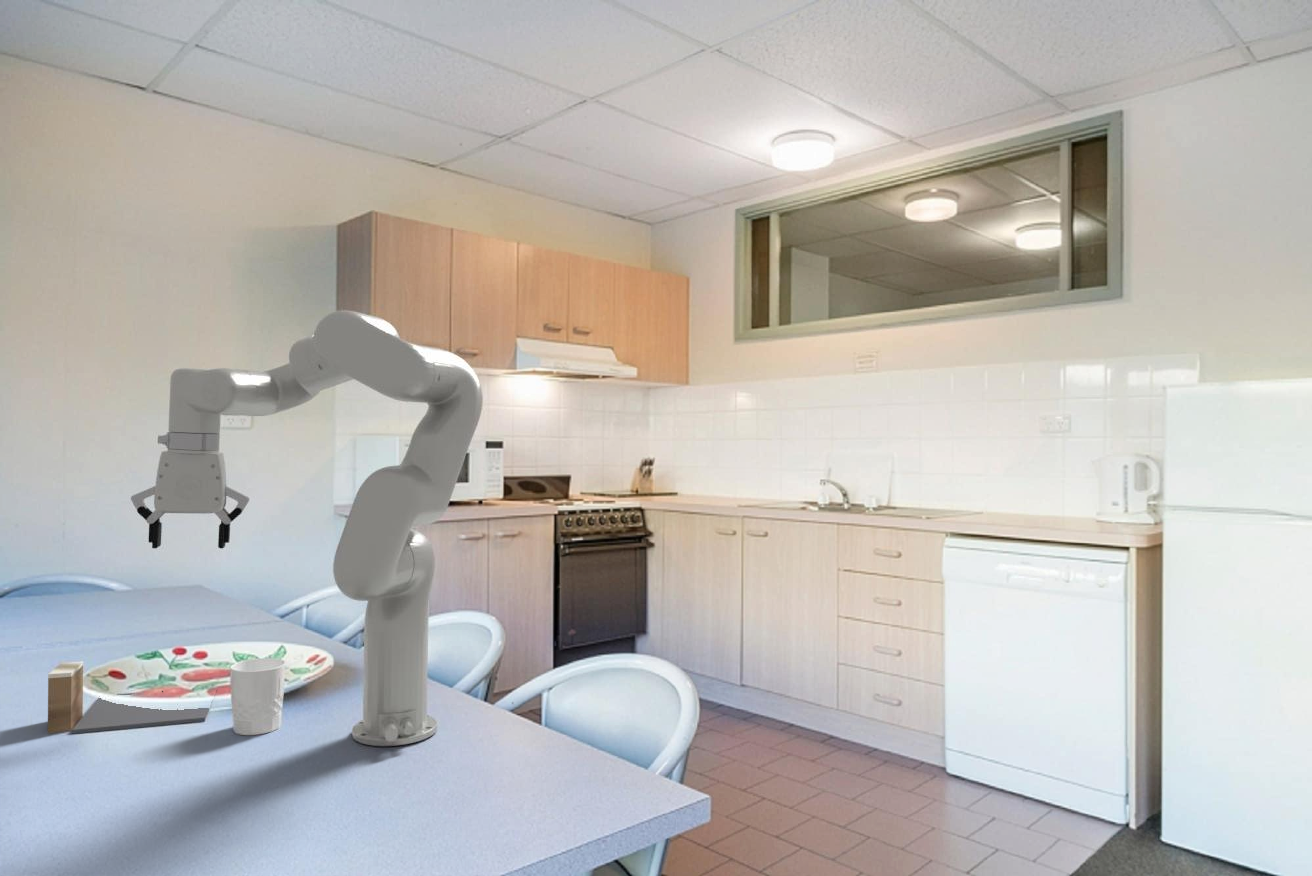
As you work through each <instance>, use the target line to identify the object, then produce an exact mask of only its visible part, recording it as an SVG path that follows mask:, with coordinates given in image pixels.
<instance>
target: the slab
mask: <svg viewBox="0 0 1312 876" xmlns="http://www.w3.org/2000/svg"><path fill="white" fill-rule="evenodd" d="M47 674H48V675H47V680H48V681H47V734H55V733H65V732H72V729H73V728H74V727H75V726H76V725H77V723H78V722H79V721H80V720H81V718H82V717H83V716H84V712H83V710H84V706H83V704H84V661H83V660H81V661H69V662H66V661H65V662H60V663H59V664H58V665H57V666H56V667H55V668H54V669H52V670H51V671H50V672H49V673H47Z"/></svg>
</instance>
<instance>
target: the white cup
mask: <svg viewBox="0 0 1312 876" xmlns="http://www.w3.org/2000/svg"><path fill="white" fill-rule="evenodd" d="M229 673H230V675H229V677H230V703H231V714H232V729H233V730H232V731H233V732H234V733H235V734H237V735H240V736H256V735H264V734H268V733H272V732H274V731H276V730H277V729H280V726H281V725H282V709H283V704H284V693H285V675H286V661H285V659H284V660H283V659H281V658H274V657H262V658H250V659H246V660H241V661H238V662H236V663H233V664H232V665H230V666H229Z"/></svg>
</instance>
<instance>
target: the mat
mask: <svg viewBox="0 0 1312 876" xmlns="http://www.w3.org/2000/svg"><path fill="white" fill-rule="evenodd" d="M135 693H138V692H128V693H127V692H126V693H117V695H132V694H135ZM209 711H210V709H209V708H198V709H184V710H178V709H177V710H162V709H160V710H159V709H150V708H142V707H136V706H128V705H124V704H116V703H112V702H109V701H106V700H102V699H101V698H99V697H98V698H97V699H96V700H95V701H94V703H93V704H92V705H91V706H90V708H89V709H88V710H87V711H86V713H85V714H83V717H82V718H81V720H80V721H79V722H78V723H77V724H76V726H75V727H74V728H73V729H72V731H71V734H72V735H75V734H83V733H84V734H85V733H95V732H96V733H97V732H102V731H103V732H104V731H115V730H116V731H118V730H125V729H126V730H128V729H136V728H137V729H138V728H149V727H158V726H159V727H160V726H169V725H179V724H180V725H181V724H189V723H190V724H191V723H201V722H205V721H206V719H207V717H208V714H209Z"/></svg>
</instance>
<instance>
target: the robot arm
mask: <svg viewBox="0 0 1312 876" xmlns="http://www.w3.org/2000/svg"><path fill="white" fill-rule="evenodd" d="M288 360H289V362H288V363H286V364H284V365H282V366H278V367H276V368H272V369H270V370H265V371H258V370H248V369H247V370H246V369H236V368H226V367H225V368H224V367H222V368H221V367H220V368H219V367H218V368H211V369H202V368H201V369H200V368H199V369H198V368H184V367H183V368H176V369H175V370H173V372H172V373H171V375H170V382H169V383H170V384H169V387H170V388H169V408H168V409H169V410H168V430H167V433H166V434H163V435H158V436H157V444H158V445H161V444H162V445H165V446H166V449H167V450H165V451H163V450H162V451H161V453H160V457H159V461H158V464H157V465H158V467H157V471H156V480H155V485H154V486H152V487H150V488H147V489H145V490H142V491H140V492H138V493H136V494H133V495H132V496H131V497H130V500H131V502H132V504H133V506H134V508H135V509H136V510H137V511H136V512H137V513H138V515H140V516H141V517H142V518H143V519H144V520H145V521H146V523H147V524H148V543H151V544H152V545H151V548H152V549H158V548H159V547H161V545H162V531H163V530H162V527H163V525H162V522H161V521H160V519H161V518H162V516H164V515H165V514H204V515H205V514H215V515H216V516H217V517H218V519H219V520H220V524H219V525H218V542H217V543H218V544H217V547H218V548H219V549H224V548H225V547H226V544H227V543H230V536H231V535H230V534H231V523H232V522H234V520H235V519H236V518H237V517H238V516H240V515H241V514H242V513H243V511H244V509H245V508H246V507H247V505H248V503H249V502H250V498H249V497H248V496H247V495H245V494H243V493H240V492H238V491H237V490H234V489H233V488H231V487H228V486H227V472H226V462H225V456H224V453H223V452H220V436H221V435H220V433H221V417H222V416H237V417H239V416H247V417H248V416H249V417H265V416H271V415H275V414H278V413H281V412H284V411H287V410H290V409H293V408H296V407H299V406H301V405H303V404H306V403H308V402H309V401H311V400H313V399H314V398H315V397H316V396H318V394H320V392H321V391H324V390H327V389H330V388H332V387H333V388H334V387H335V386H338V385H341V384H343V383H344V384H345V383H347V382H349V381H352V380H355V381H357V382H359V383H361V384H363V385H364V386H366V387H368V388H369V389H372V390H374V391H375V392H377V393H378V394H379V393H380V394H381V395H382V396H385V397H388V398H390V399H393V400H396V401H401V402H406V403H407V402H408V403H409V402H411V403H421V404H423V403H426V404H427V405H428V408H427V411H426V412H425V415H424V416H423V417H422V418H421V420H420V421H419V423H418V424H417V426H416V428H415V429H414V432H413V433H412V437H411V439H410V442H409V445H408V447H407V451H406V453H405V455H404V458H403V460H402V461H401V462H400V464H399V465H388V466H385V467H382V468H379V469H377V470H375V471H374V472H372V473H371V474H369V475H368V476H367V478H365V480H364V481H363V482H362V483H361V484H360V487H359V489H358V491H356V494H355V497H354V500H353V502H352V506H351V508H350V511H349V513H348V517H347V519H346V522H345V523H344V527H343V530H342V533H341V536H340V538H339V541H338V544H337V547H336V550H335V553H334V557H333V564H332V566H333V567H332V570H333V571H332V573H333V578H334V581H335V584H336V586H337V588H338V589H339V591H340V592H341V593H342V595H344V596H345V597H347V598H349V599H351V600H354V601H359V602H367V605H366V610H365V615H364V625H363V626H364V629H363V631H364V633H363V683H362V684H363V689H362V691H363V693H362V694H363V695H362V697H363V699H362V702H363V703H362V705H363V706H362V720H360V721H358V722H356V723H355V725H353V727H352V729H351V735H352V739H353V740H354V741H356V742H358V743H360V744H364V745H368V746H374V747H393V746H394V747H395V746H397V747H398V746H403V745H405V746H406V745H409V744H410V745H411V744H414V743H417V742H421V741H423V740H426V739H428V738H429V737H432V736H433V735H434V734H435V733H436V732H437V729H438V722H437V720H436V719H435V718H434V717H433V716H431V715H428V664H429V663H428V658H429V657H428V656H429V655H428V654H429V626H430V625H429V622H430V621H429V620H430V619H429V617H430V599H431V591H432V586H433V579H434V574H435V569H436V568H435V567H436V565H435V564H436V557H435V556H436V555H435V551H434V549H433V546H432V544H431V541H430V540H429V539H428V538H427V537H426V536H425V535H424V534H423V533H421V532H420V531H418V530H416V528H420V527H425V526H428V525H431V524H433V523H435V522H437V521H439V520H440V519H441V518H442V517H443V516H444V515H445V512H446V510H447V509H448V506H449V504H450V501H451V499H452V495H453V493H454V489H455V487H456V484H457V483H458V482H457V481H458V478H459V476H460V472H461V470H462V468H463V465H464V462H465V459H466V456H467V453H468V451H469V447H470V445H471V442H472V440H473V437H474V435H475V432H476V430H477V428H478V424H479V421H480V418H481V415H482V409H483V400H484V399H483V390H482V387H481V383H480V380H479V378H478V376H477V374H476V373H475V371H474V370H473V368H472V367H471V365H470V364H468V363H467V362H466V360H465V359H464V358H462V357H460V356H459V355H457V354H456V353H453V352H451V351H448V350H445V349H442V348H438V347H433V346H425V345H421V344H417V343H416V344H415V343H411V342H409V341H406V340H404V339H402V338H400V335H399V333H398V331H397V330H396V328H395V327H394V326H393V325H392V324H391V323H390V322H388V321H387V320H385V319H383V318H381V317H380V316H379V317H378V316H374V315H370V314H366V313H362V312H358V311H355V310H348V309H347V310H345V309H341V310H337V311H333V312H331V313H329V314H327V315H325V316H324V317H323V318H321V320H320V321H319V322H318V323H317V325H316V327H315V330H314V333H313V335H311V336H308V337H305V338H303V339H300V340H299V339H298V340H297V341H296V342H295V343H293V344H292V345H291V347H290V349H289V353H288ZM152 496H154V497H153V505H154V506H153V507H154V509H155V510H154V511H152V510H150V508H149V507H147V505H146V504H145V499H148V498H150V497H152ZM227 498H231V499H233V500H235V501H236V502H237V505H236V507H235V508H234V509H233V510H232V511H231V512H229V511H228V510H227V509H226V504H227Z"/></svg>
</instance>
